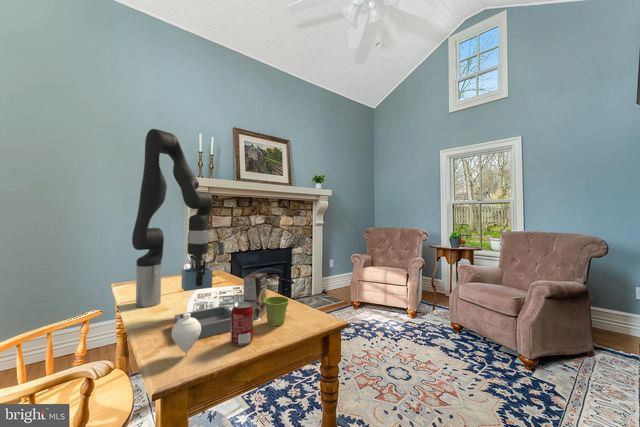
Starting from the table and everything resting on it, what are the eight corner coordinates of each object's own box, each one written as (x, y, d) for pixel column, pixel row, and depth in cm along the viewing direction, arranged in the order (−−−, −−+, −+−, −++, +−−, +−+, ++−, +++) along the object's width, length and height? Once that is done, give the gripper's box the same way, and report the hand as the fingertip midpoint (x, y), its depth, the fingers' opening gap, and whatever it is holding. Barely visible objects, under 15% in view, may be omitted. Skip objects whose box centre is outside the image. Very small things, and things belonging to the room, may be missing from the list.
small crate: (181, 287, 110) (181, 269, 109) (207, 283, 116) (208, 267, 115) (184, 291, 105) (185, 272, 105) (212, 287, 111) (212, 270, 111)
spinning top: (195, 362, 76) (195, 318, 76) (166, 363, 75) (166, 319, 75) (204, 348, 83) (205, 308, 83) (178, 349, 83) (178, 309, 83)
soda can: (253, 345, 86) (253, 307, 86) (230, 348, 84) (230, 308, 84) (252, 336, 92) (252, 300, 92) (230, 338, 90) (231, 301, 90)
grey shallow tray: (174, 326, 99) (174, 314, 99) (225, 315, 110) (225, 305, 110) (183, 342, 87) (183, 329, 87) (239, 328, 98) (239, 317, 98)
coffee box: (257, 320, 106) (258, 277, 106) (242, 318, 107) (243, 276, 107) (267, 311, 115) (267, 272, 115) (252, 310, 116) (253, 271, 116)
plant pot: (273, 316, 110) (273, 294, 110) (293, 321, 106) (293, 298, 105) (257, 325, 101) (258, 301, 101) (279, 330, 97) (279, 305, 97)
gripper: (183, 240, 113) (182, 280, 114) (192, 244, 102) (190, 289, 102) (203, 239, 118) (202, 278, 118) (213, 243, 106) (211, 286, 107)
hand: (196, 283), depth 110 cm, fingers closed on small crate, 6 cm apart
